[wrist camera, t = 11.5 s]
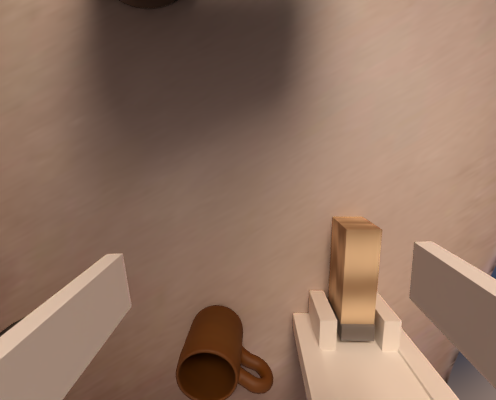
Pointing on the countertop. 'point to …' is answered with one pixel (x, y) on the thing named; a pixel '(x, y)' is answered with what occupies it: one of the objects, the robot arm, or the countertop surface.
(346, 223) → the wooden block
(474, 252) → the countertop surface
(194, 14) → the countertop surface
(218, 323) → the mug
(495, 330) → the robot arm
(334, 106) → the countertop surface
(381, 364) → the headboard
